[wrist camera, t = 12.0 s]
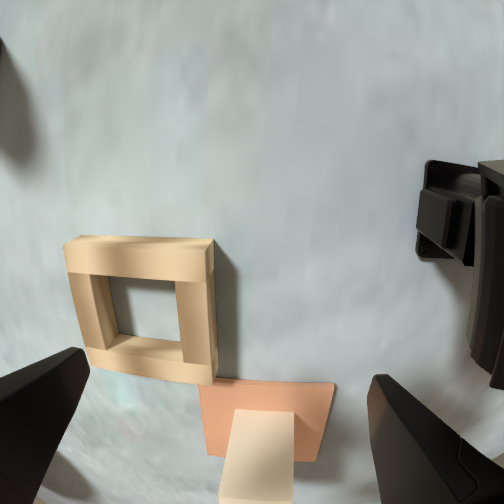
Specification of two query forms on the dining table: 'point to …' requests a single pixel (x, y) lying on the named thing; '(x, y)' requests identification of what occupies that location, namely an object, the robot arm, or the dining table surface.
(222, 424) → the terracotta coaster
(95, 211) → the dining table surface
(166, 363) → the birch pocket holder
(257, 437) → the cream block
